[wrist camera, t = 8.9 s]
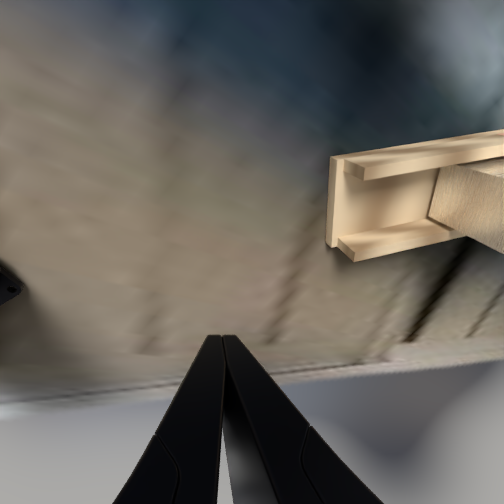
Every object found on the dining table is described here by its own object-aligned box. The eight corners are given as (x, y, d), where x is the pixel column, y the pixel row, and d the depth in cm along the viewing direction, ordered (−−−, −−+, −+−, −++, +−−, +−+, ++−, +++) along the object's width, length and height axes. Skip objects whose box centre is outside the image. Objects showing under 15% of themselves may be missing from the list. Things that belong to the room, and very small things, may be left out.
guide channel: (325, 241, 24) (347, 263, 21) (330, 156, 20) (357, 169, 18) (512, 201, 27) (553, 215, 24) (544, 122, 24) (596, 128, 21)
